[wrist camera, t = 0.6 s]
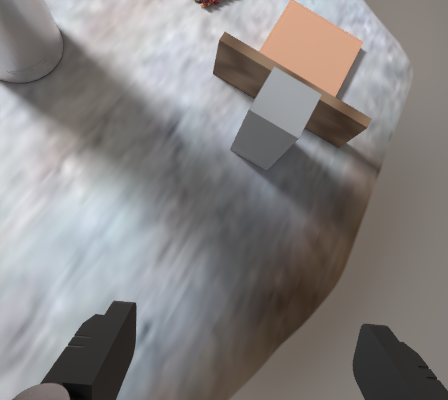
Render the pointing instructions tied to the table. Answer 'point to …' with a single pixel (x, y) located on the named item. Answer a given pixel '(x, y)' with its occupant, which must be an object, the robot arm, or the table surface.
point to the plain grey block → (275, 119)
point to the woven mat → (207, 2)
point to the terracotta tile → (312, 47)
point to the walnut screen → (262, 66)
